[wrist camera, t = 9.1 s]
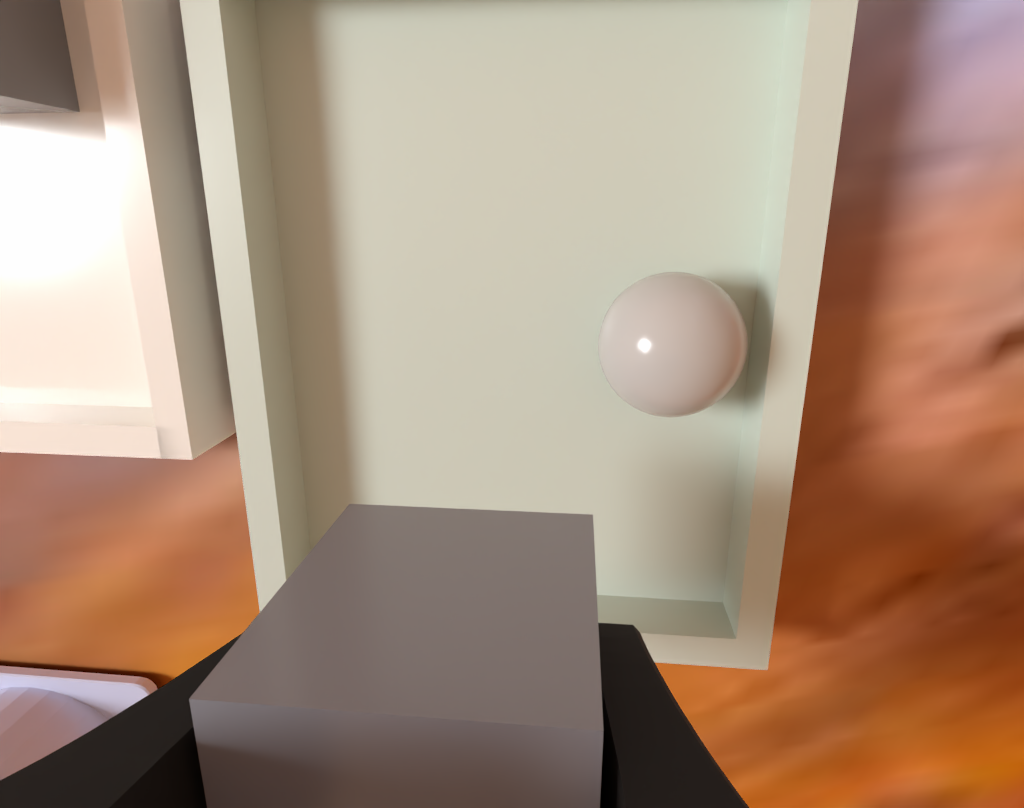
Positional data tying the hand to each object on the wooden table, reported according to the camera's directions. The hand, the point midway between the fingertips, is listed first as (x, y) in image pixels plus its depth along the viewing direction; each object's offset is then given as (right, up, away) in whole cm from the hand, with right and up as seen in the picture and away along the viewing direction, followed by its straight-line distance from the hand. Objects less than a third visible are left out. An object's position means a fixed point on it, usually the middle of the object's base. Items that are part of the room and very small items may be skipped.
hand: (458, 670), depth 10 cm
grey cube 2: (0, 0, +1) cm, 1 cm away
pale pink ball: (+4, +6, +5) cm, 9 cm away
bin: (+1, +6, +6) cm, 8 cm away
